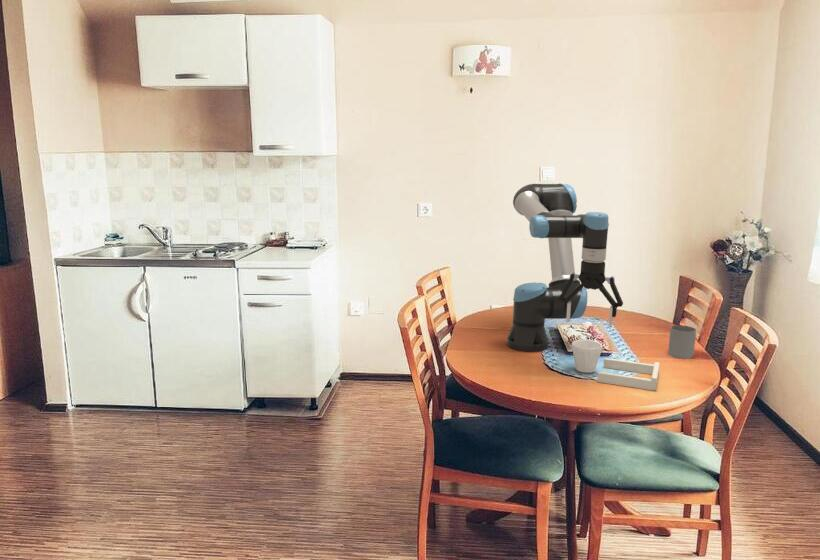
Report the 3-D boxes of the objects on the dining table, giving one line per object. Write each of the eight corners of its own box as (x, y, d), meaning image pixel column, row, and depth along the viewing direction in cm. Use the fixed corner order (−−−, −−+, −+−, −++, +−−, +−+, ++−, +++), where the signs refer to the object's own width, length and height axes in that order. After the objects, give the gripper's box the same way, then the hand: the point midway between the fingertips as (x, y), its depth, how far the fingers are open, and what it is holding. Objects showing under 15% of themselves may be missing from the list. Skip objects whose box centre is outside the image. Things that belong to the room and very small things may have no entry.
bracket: (597, 381, 205) (598, 370, 204) (604, 366, 220) (604, 355, 219) (655, 390, 199) (656, 378, 198) (658, 373, 213) (659, 362, 212)
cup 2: (695, 359, 227) (698, 332, 225) (670, 358, 229) (673, 331, 226) (690, 352, 235) (693, 325, 233) (666, 350, 237) (669, 324, 235)
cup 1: (563, 367, 218) (565, 341, 216) (587, 363, 222) (589, 338, 220) (582, 377, 209) (584, 350, 207) (607, 373, 213) (609, 346, 211)
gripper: (552, 259, 209) (548, 322, 213) (632, 265, 199) (627, 331, 204) (556, 255, 216) (553, 316, 220) (634, 261, 206) (629, 325, 210)
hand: (588, 323), depth 212 cm, fingers open, 13 cm apart
